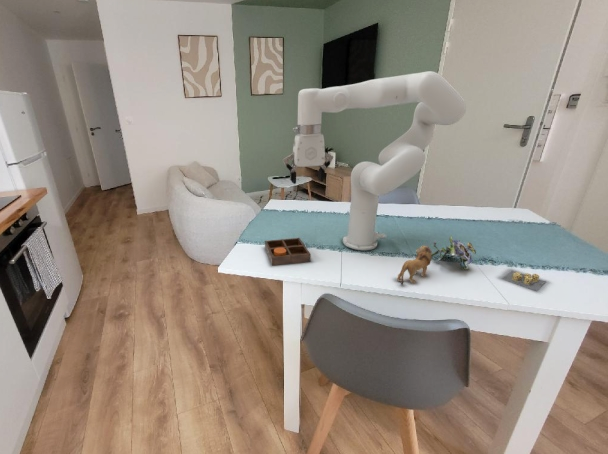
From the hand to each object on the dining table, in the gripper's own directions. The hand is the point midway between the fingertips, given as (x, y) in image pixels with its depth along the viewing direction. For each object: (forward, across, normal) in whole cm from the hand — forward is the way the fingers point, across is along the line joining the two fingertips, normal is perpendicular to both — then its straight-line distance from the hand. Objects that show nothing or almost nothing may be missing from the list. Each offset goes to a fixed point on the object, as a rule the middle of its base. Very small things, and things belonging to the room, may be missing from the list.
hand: (307, 181), depth 101 cm
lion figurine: (+26, +27, -25) cm, 45 cm away
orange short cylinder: (+26, -11, -6) cm, 29 cm away
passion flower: (+26, +43, -21) cm, 55 cm away
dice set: (+26, +57, -33) cm, 71 cm away
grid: (+26, -8, -3) cm, 28 cm away
